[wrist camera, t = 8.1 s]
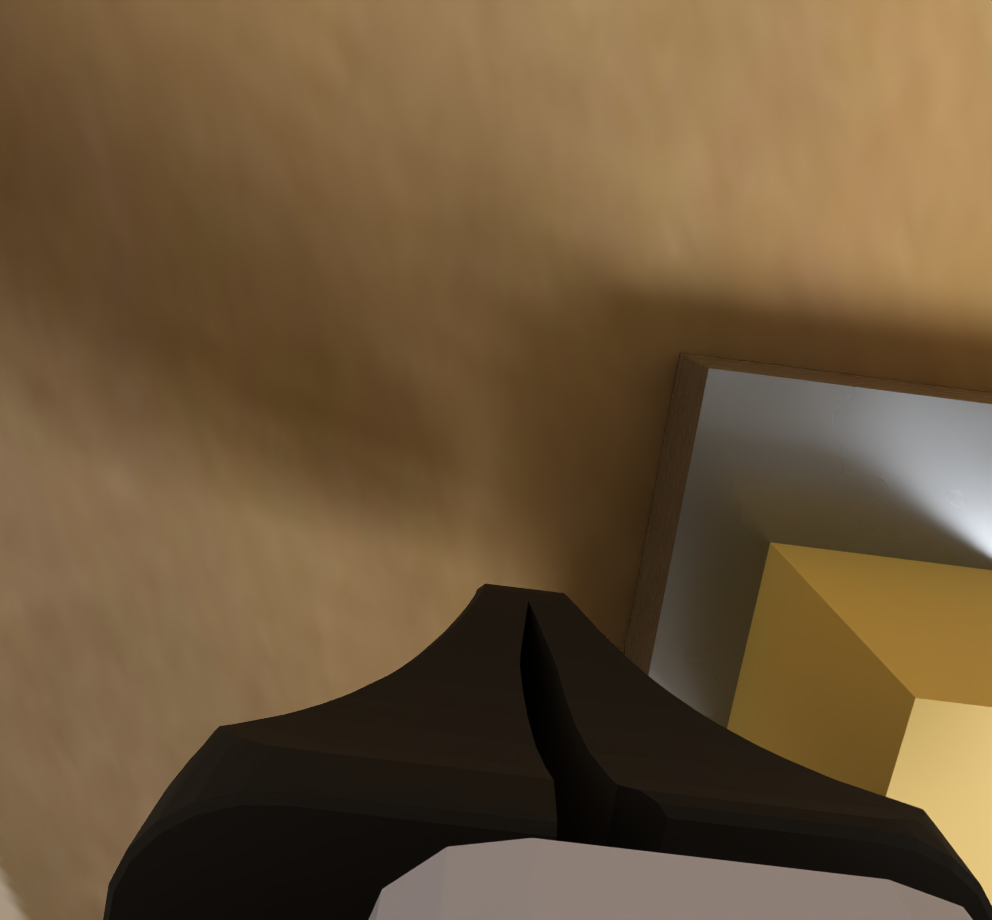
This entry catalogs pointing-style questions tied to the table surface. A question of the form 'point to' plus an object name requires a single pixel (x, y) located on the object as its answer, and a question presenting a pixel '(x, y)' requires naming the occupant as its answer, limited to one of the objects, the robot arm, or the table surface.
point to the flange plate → (794, 500)
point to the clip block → (878, 682)
